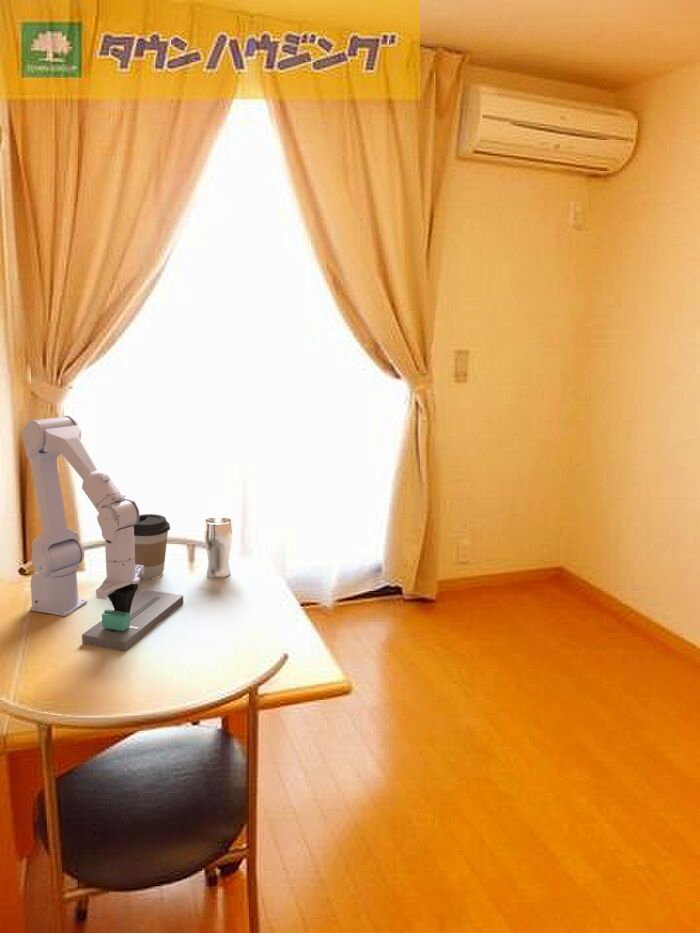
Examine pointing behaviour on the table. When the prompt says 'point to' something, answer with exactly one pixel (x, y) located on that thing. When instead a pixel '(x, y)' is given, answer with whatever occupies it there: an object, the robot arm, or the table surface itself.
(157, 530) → the coffee cup
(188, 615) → the table surface
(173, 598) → the fader console
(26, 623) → the table surface
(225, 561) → the beer glass
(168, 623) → the table surface
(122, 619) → the fader tab
